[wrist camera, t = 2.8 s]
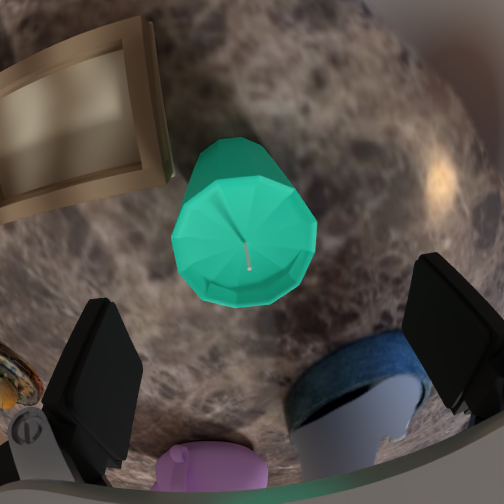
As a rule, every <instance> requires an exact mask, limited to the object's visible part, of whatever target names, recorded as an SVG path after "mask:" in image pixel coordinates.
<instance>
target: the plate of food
mask: <svg viewBox="0 0 504 504" xmlns="http://www.w3.org/2000/svg"><path fill="white" fill-rule="evenodd" d="M33 371H34V370H33V369H32V368H31V367H30V366H29V365H28V364H27V363H26V362H25V361H24V360H23V359H22V358H20V357H19V356H18V355H17V354H16V353H14V352H13V351H11V350H10V349H8V348H7V347H5V346H3V345H1V344H0V408H2V410H3V409H10V408H12V407H13V406H14V405H15V404H16V403H17V404H23V405H25V406H26V405H28V406H32V405H35V404H37V403H38V402H39V400H40V398H41V397H42V395H43V394H42V391H43V386H42V383H41V382H40V381H38V376H37V374H36V373H35V371H34V372H33Z"/></svg>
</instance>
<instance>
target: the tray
mask: <svg viewBox="0 0 504 504" xmlns="http://www.w3.org/2000/svg"><path fill="white" fill-rule="evenodd" d="M175 174H176V172H175V167H174V161H173V156H172V150H171V144H170V139H169V133H168V127H167V121H166V114H165V108H164V101H163V95H162V88H161V81H160V74H159V66H158V58H157V50H156V42H155V33H154V24H153V23H152V22H151V21H150V22H147V21H146V20H145V19H144V18H143V17H142V16H141V15H139V16H135V17H131V18H128V19H124V20H121V21H118V22H114V23H111V24H108V25H105V26H102V27H99V28H96V29H93V30H90V31H88V32H85V33H82V34H79V35H77V36H74V37H72V38H69V39H67V40H64V41H62V42H60V43H57V44H55V45H53V46H51V47H48V48H46V49H44V50H42V51H40V52H38V53H36V54H34V55H32V56H30V57H28V58H26V59H24V60H22V61H20V62H18V63H16V64H14V65H12V66H11V67H9V68H7V69H5V70H3V71H2V72H0V225H1V224H4V223H8V222H11V221H14V220H18V219H21V218H25V217H28V216H32V215H36V214H39V213H43V212H47V211H50V210H54V209H58V208H62V207H66V206H70V205H74V204H78V203H83V202H87V201H91V200H96V199H100V198H104V197H109V196H114V195H118V194H123V193H128V192H133V191H138V190H143V189H148V188H154V187H159V186H164V185H167V183H168V181H169V180H170V178H171V177H174V176H175Z"/></svg>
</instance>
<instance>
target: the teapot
mask: <svg viewBox="0 0 504 504" xmlns="http://www.w3.org/2000/svg"><path fill="white" fill-rule="evenodd" d="M155 471H156V479H157V481H156V482H155V483H154V485H153V486H152V488H151V490H150V491H163V492H222V491H239V490H251V489H261V488H266V486H267V479H268V469H267V465H266V463H265V461H264V460H263V459H262V458H261V457H260V456H259V455H257V454H256V453H255V452H253V451H252V450H250V449H249V448H247V447H245V446H242V445H239V444H235V443H230V442H222V441H196V442H188V443H183V444H180V445H174V446H172V447H171V448H170V450H168V451H167V452H165V453H164V454H163V455H162V456H161V457H160V458H159V459H158V460H157V462H156V467H155Z"/></svg>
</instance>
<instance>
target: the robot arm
mask: <svg viewBox="0 0 504 504" xmlns="http://www.w3.org/2000/svg"><path fill="white" fill-rule="evenodd" d="M402 331H403V334H404V336H405V337H406V339H407V341H408V342H409V344H410V346H411V347H412V349H413V351H414V352H415V354H416V356H417V357H418V359H419V361H420V362H421V364H422V366H423V367H424V369H425V371H426V373H427V374H428V376H429V378H430V380H431V381H432V383H433V385H434V387H435V389H436V390H437V392H438V394H439V396H440V398H441V399H442V401H443V403H444V405H445V406H446V407H447V408H449V409H451V411H452V413H453V415H457V414H459V413H461V412H463V411H465V410H467V409H468V407H469V409H470V411H471V416H470V421H469V426H468V429H466V430H464V431H462V432H460V433H458V434H456V435H454V436H452V437H449V438H447V439H445V440H443V441H440V442H438V443H436V444H433V445H431V446H428V447H426V448H423V449H421V450H418V451H416V452H413V453H410V454H408V455H405V456H402V457H399V458H396V459H393V460H390V461H387V462H384V463H381V464H378V465H374V466H371V467H368V468H365V469H361V470H357V471H353V472H349V473H346V474H342V475H338V476H333V477H328V478H324V479H319V480H314V481H309V482H303V483H297V484H291V485H284V486H277V487H269V488H261V489H251V490H239V491H222V492H163V491H147V490H134V489H123V488H114V487H112V485H111V484H110V482H109V481H108V479H107V477H106V476H105V470H106V467H109V468H118V469H121V465H122V460H126V458H127V454H128V448H129V442H130V436H131V430H132V424H133V419H134V413H135V408H136V403H137V398H138V393H139V388H140V383H141V378H142V374H143V365H142V362H141V360H140V358H139V356H138V353H137V351H136V349H135V347H134V345H133V343H132V341H131V339H130V337H129V334H128V332H127V330H126V328H125V325H124V323H123V321H122V319H121V316H120V314H119V312H118V309H117V307H116V305H115V303H114V302H110V300H109V299H108V298H98V299H90V300H89V301H88V303H87V304H86V306H85V308H84V310H83V312H82V314H81V316H80V318H79V320H78V322H77V324H76V326H75V328H74V330H73V332H72V334H71V336H70V338H69V340H68V342H67V344H66V346H65V348H64V350H63V352H62V355H61V357H60V359H59V361H58V363H57V366H56V368H55V370H54V372H53V375H52V377H51V379H50V381H49V384H48V386H47V389H46V391H45V393H44V396H43V398H42V401H41V402H42V404H43V408H42V410H40V409H39V408H36V407H27V408H24V409H22V410H20V411H19V412H18V413H16V414H15V415H14V417H13V418H12V419H11V421H10V423H9V425H8V431H7V434H8V441H6V442H5V443H3V444H2V445H0V504H504V320H503V318H502V317H501V316H500V315H499V314H498V313H497V312H496V311H495V310H494V308H493V307H492V306H491V305H490V304H489V303H488V302H487V301H486V300H485V299H484V298H483V297H482V296H481V295H480V294H479V292H478V291H477V290H476V289H475V288H474V287H473V286H472V285H471V284H470V283H469V282H468V281H467V280H466V279H465V278H464V277H463V276H462V275H461V274H460V273H459V272H458V271H457V270H456V269H455V268H454V267H453V266H451V265H450V264H449V263H448V262H447V261H446V260H445V259H444V258H443V257H442V256H441V255H440V254H439V253H437V252H433V253H427V254H422V255H420V256H419V258H418V260H416V262H415V264H414V269H413V275H412V280H411V285H410V291H409V295H408V300H407V305H406V309H405V314H404V318H403V322H402Z"/></svg>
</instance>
